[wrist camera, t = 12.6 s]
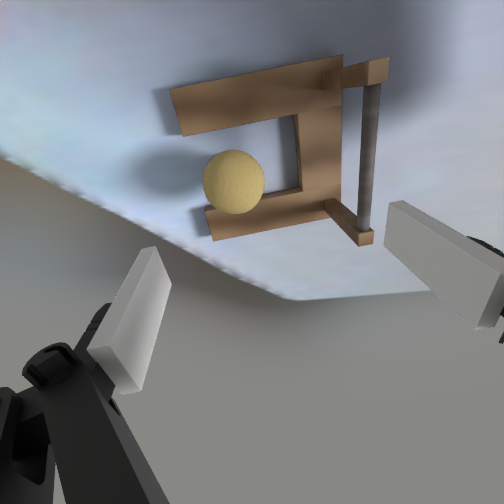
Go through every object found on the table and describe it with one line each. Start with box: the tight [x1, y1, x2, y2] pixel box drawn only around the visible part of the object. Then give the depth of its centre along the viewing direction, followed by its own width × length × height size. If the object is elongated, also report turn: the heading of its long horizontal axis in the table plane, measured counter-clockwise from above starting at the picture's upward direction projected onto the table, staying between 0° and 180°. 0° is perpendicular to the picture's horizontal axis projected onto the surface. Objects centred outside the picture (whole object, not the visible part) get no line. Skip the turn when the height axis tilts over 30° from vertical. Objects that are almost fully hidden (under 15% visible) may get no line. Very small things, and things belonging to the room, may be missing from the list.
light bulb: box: [203, 150, 265, 214], centre depth 28 cm, size 6×6×10 cm
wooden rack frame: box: [169, 54, 390, 247], centre depth 27 cm, size 18×18×12 cm
